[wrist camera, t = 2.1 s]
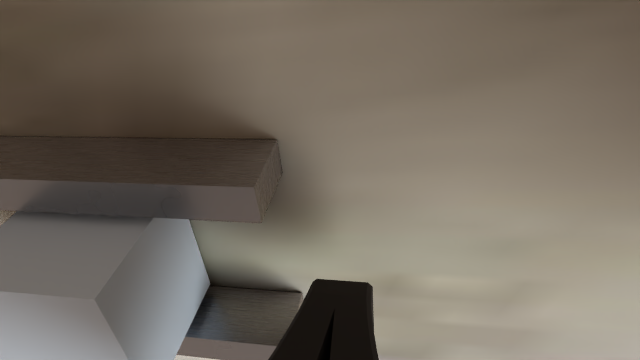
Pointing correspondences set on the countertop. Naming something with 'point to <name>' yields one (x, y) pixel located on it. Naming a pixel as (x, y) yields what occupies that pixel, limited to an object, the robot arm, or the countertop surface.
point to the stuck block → (97, 286)
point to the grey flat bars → (164, 212)
